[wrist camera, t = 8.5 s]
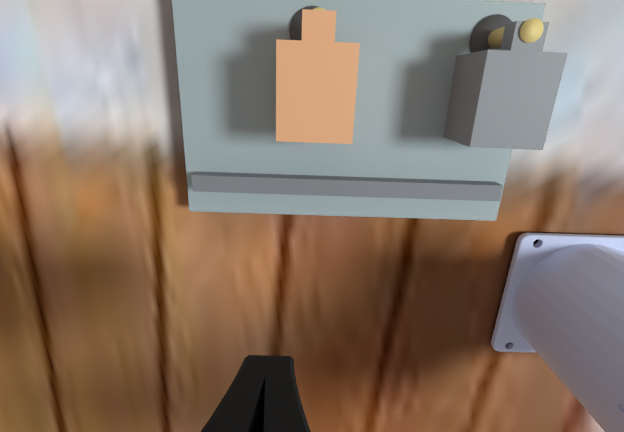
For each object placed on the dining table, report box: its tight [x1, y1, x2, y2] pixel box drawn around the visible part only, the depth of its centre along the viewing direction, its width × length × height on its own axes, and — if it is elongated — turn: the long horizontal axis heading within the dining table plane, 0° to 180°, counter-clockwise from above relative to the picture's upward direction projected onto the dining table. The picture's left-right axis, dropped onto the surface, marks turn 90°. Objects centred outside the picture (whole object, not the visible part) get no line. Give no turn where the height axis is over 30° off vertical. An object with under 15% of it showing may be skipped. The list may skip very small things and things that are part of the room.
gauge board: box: [172, 0, 567, 221], centre depth 16 cm, size 16×10×4 cm, turn 88°
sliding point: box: [276, 7, 360, 144], centre depth 15 cm, size 3×5×3 cm, turn 178°
